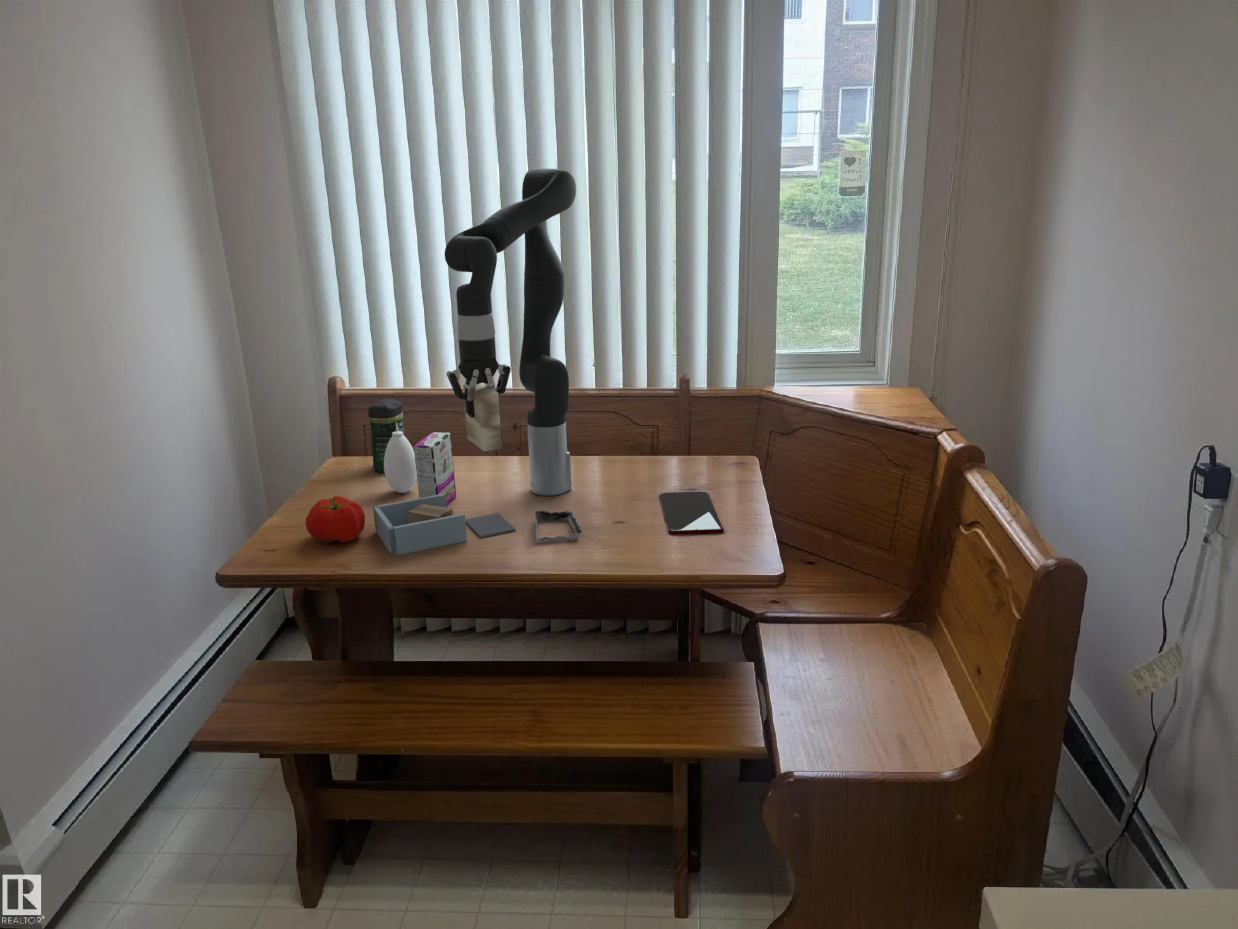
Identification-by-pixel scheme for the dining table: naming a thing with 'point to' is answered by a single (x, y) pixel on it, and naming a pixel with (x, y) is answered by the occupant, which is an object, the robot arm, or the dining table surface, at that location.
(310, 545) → the dining table surface
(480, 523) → the mat
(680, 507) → the smartphone
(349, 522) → the tomato
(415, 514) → the offcut block upper
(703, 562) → the dining table surface
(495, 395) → the beige hardcover book
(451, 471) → the candy bar box
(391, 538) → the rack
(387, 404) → the coffee jar
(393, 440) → the sauce bottle
